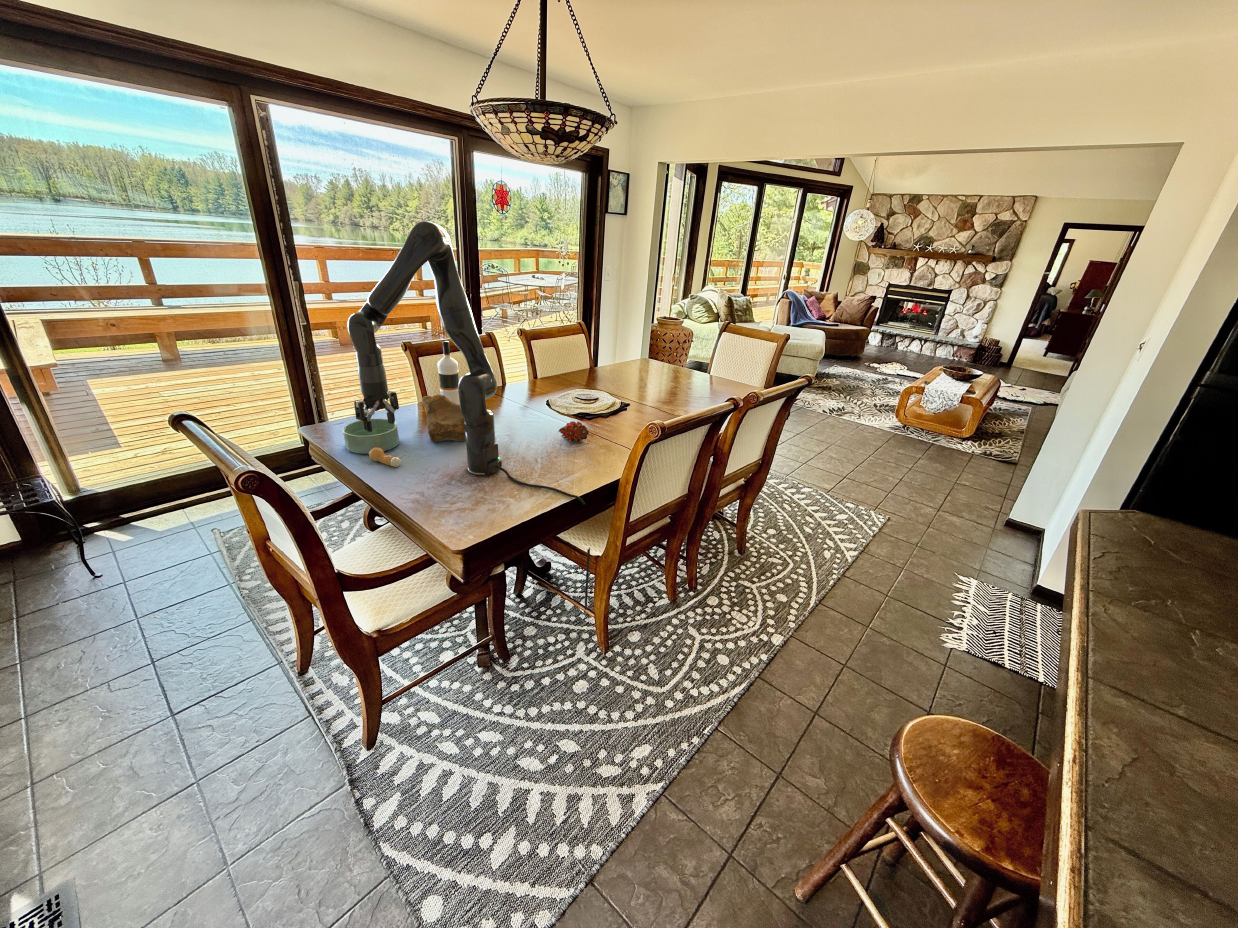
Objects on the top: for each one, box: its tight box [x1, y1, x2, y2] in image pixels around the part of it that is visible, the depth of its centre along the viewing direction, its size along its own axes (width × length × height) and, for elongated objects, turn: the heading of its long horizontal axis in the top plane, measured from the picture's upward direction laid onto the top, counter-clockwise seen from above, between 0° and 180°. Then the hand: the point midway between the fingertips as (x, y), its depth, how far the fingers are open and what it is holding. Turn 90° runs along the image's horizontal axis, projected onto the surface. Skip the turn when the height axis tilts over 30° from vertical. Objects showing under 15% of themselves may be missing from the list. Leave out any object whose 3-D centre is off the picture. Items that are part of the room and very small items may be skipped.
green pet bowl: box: [342, 418, 400, 455], centre depth 171 cm, size 17×17×7 cm
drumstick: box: [368, 448, 402, 468], centre depth 159 cm, size 12×5×5 cm, turn 65°
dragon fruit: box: [558, 421, 589, 444], centre depth 186 cm, size 8×8×12 cm
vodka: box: [436, 340, 460, 405], centre depth 203 cm, size 9×9×30 cm
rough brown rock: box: [421, 394, 466, 443], centre depth 179 cm, size 23×17×15 cm
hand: (380, 427), depth 155 cm, fingers open, 8 cm apart
